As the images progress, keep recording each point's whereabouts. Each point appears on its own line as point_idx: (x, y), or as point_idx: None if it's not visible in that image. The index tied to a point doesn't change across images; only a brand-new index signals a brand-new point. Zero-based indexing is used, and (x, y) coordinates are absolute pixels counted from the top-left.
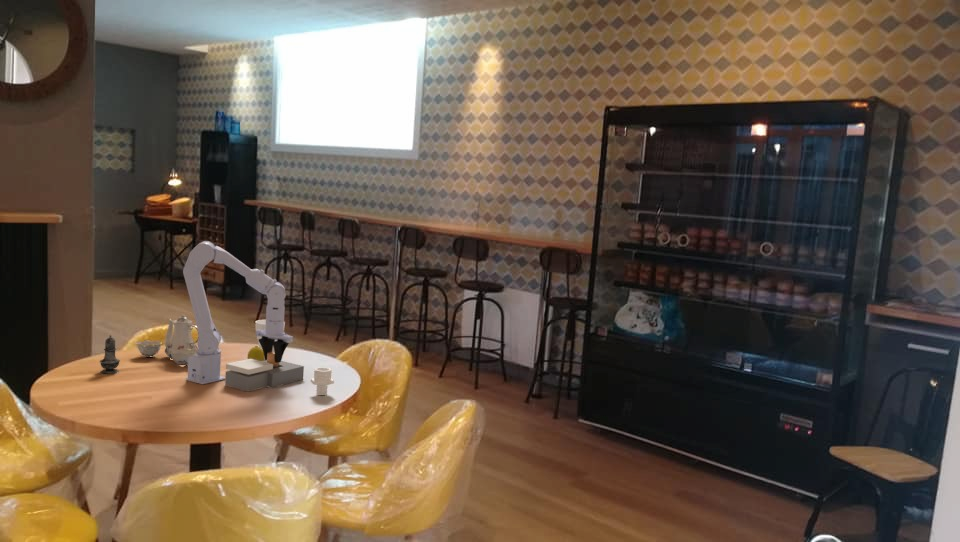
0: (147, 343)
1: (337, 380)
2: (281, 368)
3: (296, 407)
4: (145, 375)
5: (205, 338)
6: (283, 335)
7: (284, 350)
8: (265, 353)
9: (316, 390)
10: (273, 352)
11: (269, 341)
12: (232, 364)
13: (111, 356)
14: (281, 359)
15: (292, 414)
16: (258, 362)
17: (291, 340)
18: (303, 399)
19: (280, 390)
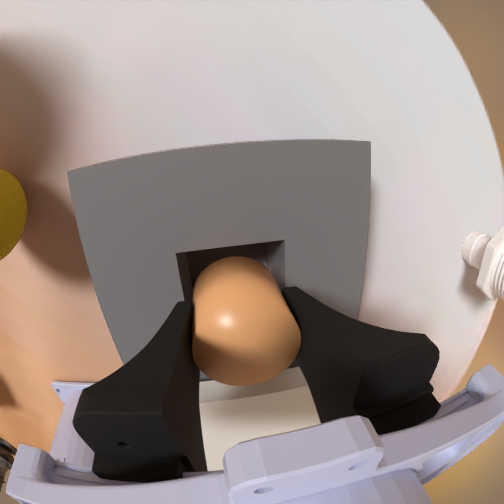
0: None
1: (425, 60)
2: (317, 288)
3: (454, 351)
4: (33, 441)
5: None
6: (443, 465)
7: (353, 322)
8: (199, 381)
9: (470, 264)
10: (223, 337)
11: (190, 437)
12: (219, 469)
13: (4, 471)
14: (303, 291)
15: (457, 371)
16: (260, 414)
17: (493, 387)
18: (451, 312)
19: (367, 321)
